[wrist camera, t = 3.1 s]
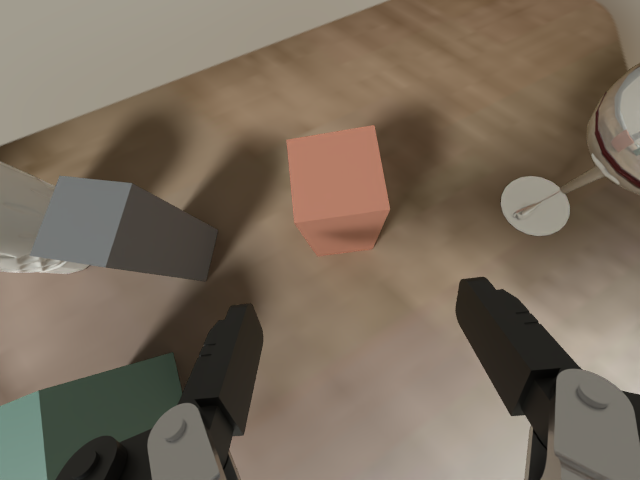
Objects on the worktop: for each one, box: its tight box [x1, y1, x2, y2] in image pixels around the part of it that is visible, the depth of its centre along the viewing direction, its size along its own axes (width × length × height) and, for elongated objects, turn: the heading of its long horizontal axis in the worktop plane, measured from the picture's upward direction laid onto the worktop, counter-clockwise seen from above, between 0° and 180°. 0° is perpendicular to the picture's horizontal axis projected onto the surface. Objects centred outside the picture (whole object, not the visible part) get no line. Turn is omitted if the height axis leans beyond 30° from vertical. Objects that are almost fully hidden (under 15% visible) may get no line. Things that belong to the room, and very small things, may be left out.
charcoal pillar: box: [29, 176, 218, 281], centre depth 18 cm, size 4×4×10 cm
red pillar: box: [287, 125, 390, 256], centre depth 18 cm, size 4×4×10 cm
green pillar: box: [0, 352, 182, 480], centre depth 16 cm, size 4×4×10 cm
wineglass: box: [501, 63, 640, 236], centre depth 15 cm, size 7×7×12 cm
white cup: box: [0, 161, 89, 274], centre depth 20 cm, size 8×8×10 cm
